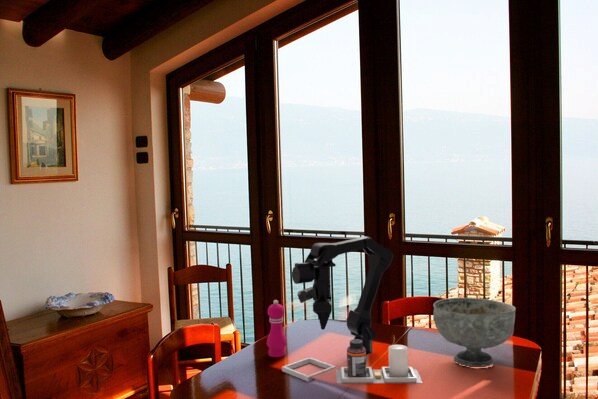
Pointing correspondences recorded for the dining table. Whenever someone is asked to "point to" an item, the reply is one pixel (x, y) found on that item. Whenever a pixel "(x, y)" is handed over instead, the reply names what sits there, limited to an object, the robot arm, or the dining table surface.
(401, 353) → the white peg
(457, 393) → the dining table surface
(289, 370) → the white square frame
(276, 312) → the pepper mill
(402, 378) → the gray rectangular frame
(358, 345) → the supplement bottle
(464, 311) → the decorative bowl
